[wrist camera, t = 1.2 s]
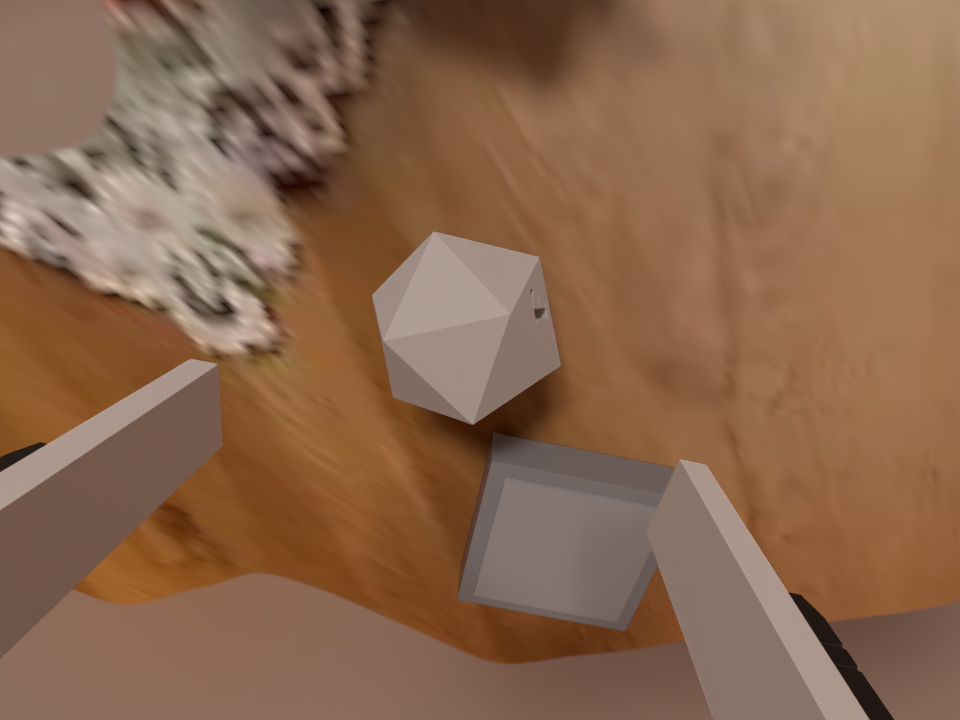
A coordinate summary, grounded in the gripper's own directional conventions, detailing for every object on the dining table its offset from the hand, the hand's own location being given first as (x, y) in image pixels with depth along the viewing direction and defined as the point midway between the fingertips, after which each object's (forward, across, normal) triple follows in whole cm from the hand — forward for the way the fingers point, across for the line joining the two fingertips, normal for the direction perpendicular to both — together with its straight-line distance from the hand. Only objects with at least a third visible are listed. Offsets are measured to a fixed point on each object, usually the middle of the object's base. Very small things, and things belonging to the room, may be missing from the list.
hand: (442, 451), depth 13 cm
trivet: (+14, +8, -14) cm, 22 cm away
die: (+14, 0, 0) cm, 14 cm away
